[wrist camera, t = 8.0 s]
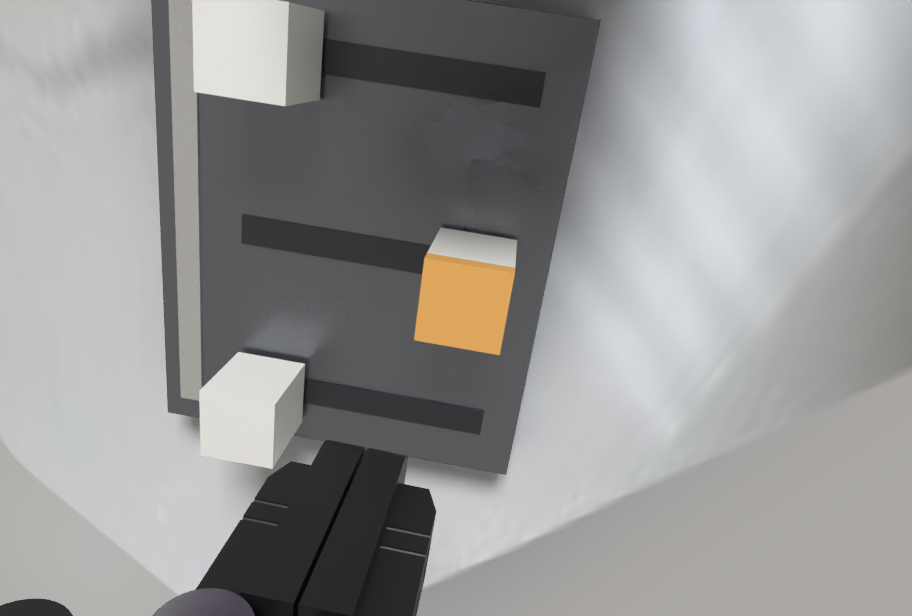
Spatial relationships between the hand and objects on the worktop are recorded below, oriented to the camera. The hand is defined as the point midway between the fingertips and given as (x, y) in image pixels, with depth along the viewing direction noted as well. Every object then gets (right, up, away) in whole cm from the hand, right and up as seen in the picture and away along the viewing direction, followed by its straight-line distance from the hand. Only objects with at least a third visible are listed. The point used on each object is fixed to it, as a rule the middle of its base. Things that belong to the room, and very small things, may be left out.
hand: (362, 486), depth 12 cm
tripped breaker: (+2, +5, +14) cm, 15 cm away
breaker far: (-6, 0, +17) cm, 18 cm away
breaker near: (-5, +13, +11) cm, 18 cm away
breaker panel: (-2, +6, +16) cm, 17 cm away
